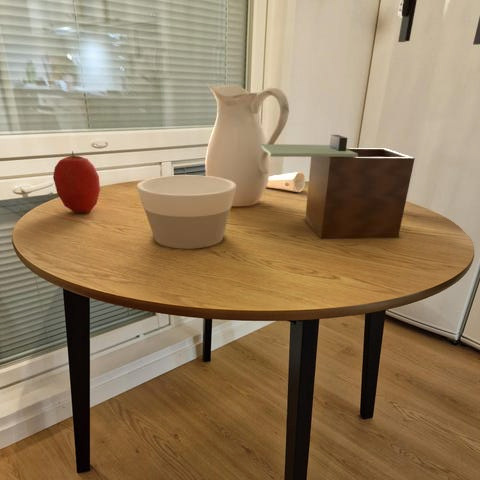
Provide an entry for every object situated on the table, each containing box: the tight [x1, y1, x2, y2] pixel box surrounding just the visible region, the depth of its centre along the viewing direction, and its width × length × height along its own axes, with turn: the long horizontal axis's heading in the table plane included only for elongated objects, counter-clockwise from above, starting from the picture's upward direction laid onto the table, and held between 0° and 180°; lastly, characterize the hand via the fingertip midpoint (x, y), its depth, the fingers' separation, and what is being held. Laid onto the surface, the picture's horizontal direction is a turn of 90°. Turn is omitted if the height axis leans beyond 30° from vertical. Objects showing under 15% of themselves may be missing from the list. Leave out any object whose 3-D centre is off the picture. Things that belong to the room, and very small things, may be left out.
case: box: [304, 147, 416, 239], centre depth 92 cm, size 17×14×16 cm
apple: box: [52, 150, 101, 214], centre depth 100 cm, size 10×10×14 cm
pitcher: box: [204, 83, 290, 207], centre depth 106 cm, size 24×17×28 cm
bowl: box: [136, 174, 236, 250], centre depth 85 cm, size 19×19×11 cm
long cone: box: [266, 171, 306, 193], centre depth 131 cm, size 6×6×19 cm
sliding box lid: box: [261, 134, 358, 158], centre depth 86 cm, size 17×13×3 cm
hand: (441, 43), depth 72 cm, fingers open, 13 cm apart
